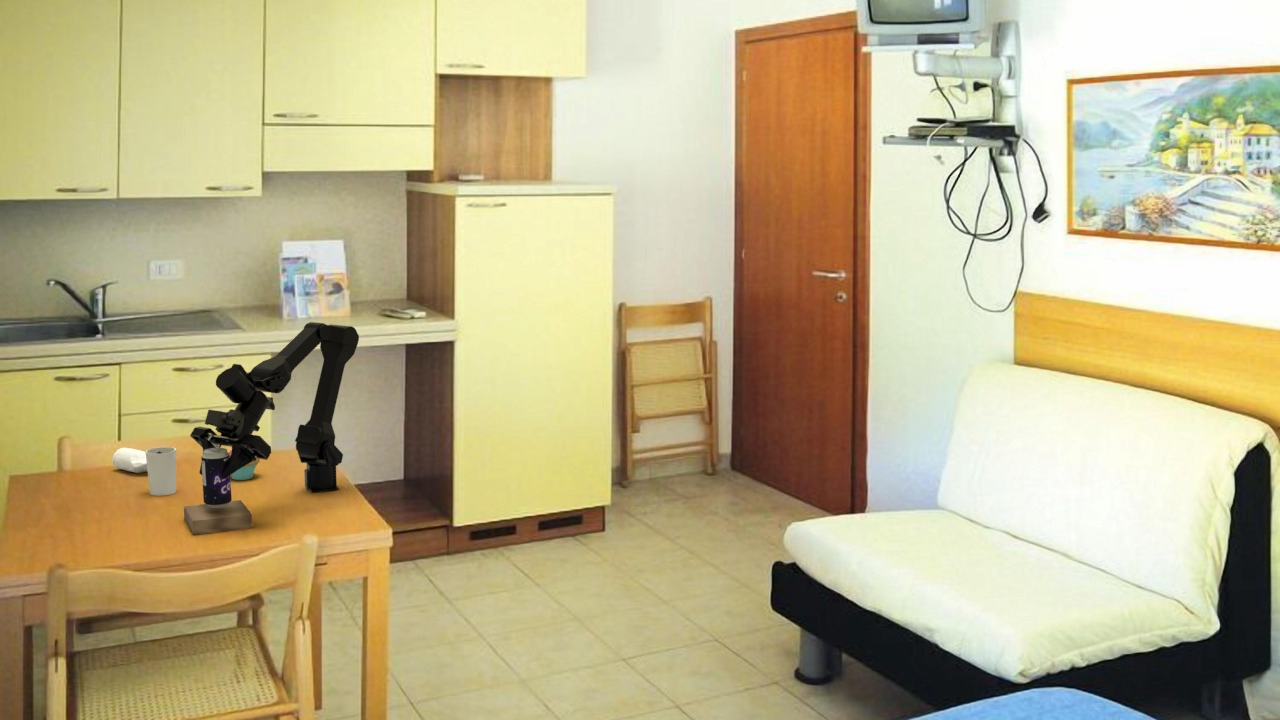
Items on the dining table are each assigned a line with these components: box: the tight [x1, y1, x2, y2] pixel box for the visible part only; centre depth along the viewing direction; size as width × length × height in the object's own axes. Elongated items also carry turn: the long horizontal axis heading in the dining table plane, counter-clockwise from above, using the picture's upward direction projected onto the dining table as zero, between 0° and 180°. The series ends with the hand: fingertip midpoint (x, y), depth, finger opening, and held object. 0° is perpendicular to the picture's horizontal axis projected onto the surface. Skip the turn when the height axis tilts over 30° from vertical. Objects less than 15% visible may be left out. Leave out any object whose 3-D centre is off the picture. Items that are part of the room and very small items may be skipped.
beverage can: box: [200, 447, 233, 508], centre depth 281 cm, size 6×6×12 cm
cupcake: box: [227, 450, 261, 481], centre depth 320 cm, size 9×8×12 cm
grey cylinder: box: [145, 446, 177, 497], centre depth 306 cm, size 7×7×10 cm
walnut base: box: [183, 500, 253, 536], centre depth 283 cm, size 12×12×3 cm
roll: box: [112, 447, 148, 474], centre depth 324 cm, size 6×12×6 cm, turn 54°
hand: (211, 476), depth 280 cm, fingers closed on beverage can, 6 cm apart
